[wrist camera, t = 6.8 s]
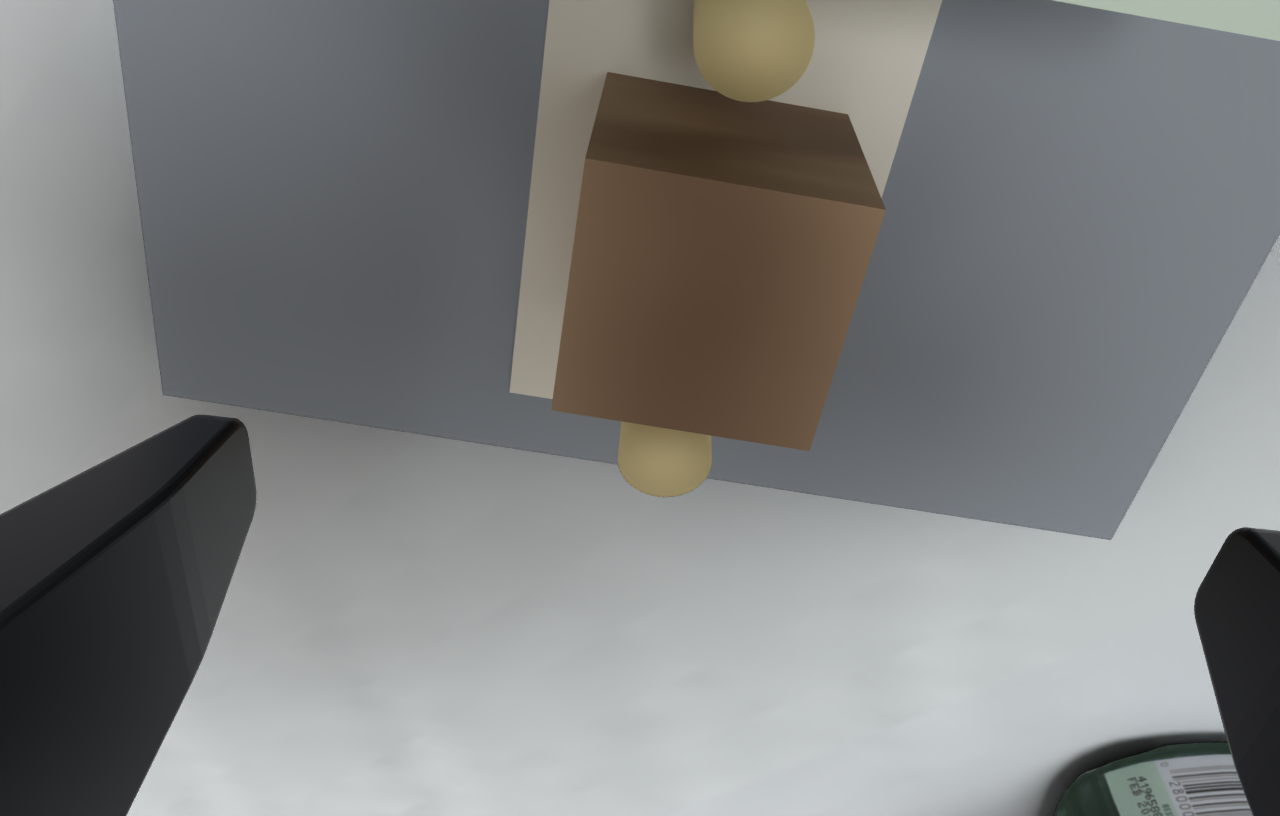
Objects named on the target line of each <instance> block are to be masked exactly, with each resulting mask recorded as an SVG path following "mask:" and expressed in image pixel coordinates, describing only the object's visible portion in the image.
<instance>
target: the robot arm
mask: <svg viewBox="0 0 1280 816" xmlns="http://www.w3.org/2000/svg"><path fill="white" fill-rule="evenodd" d="M255 506H256V486H255V479H254V472H253V465H252V458H251V451H250V444H249V437H248V432H247V429H246V427H245V425H244V424H243V423H242V422H241V421H240V420H238V419H236V418H227V417H218V416H209V415H195V416H192V417H190V418H188V419H186V420H184V421H182V422H180V423H178V424H176V425H174V426H172V427H170V428H168V429H166V430H164V431H162V432H160V433H158V434H156V435H154V436H152V437H150V438H149V439H147V440H145V441H143V442H141V443H139V444H137V445H135V446H133V447H131V448H129V449H127V450H125V451H123V452H121V453H119V454H117V455H115V456H113V457H112V458H110V459H108V460H106V461H104V462H102V463H100V464H98V465H96V466H94V467H92V468H90V469H88V470H86V471H84V472H82V473H80V474H78V475H76V476H75V477H73V478H71V479H69V480H67V481H65V482H63V483H61V484H59V485H57V486H55V487H53V488H51V489H49V490H47V491H45V492H43V493H41V494H39V495H38V496H36V497H34V498H32V499H30V500H28V501H26V502H24V503H22V504H20V505H18V506H16V507H14V508H12V509H10V510H8V511H6V512H4V513H2V514H0V816H126V815H127V813H128V811H129V809H130V807H131V805H132V803H133V801H134V799H135V797H136V795H137V793H138V791H139V789H140V787H141V785H142V783H143V781H144V779H145V777H146V775H147V773H148V771H149V769H150V767H151V765H152V762H153V760H154V758H155V756H156V754H157V752H158V750H159V748H160V746H161V744H162V742H163V740H164V738H165V736H166V734H167V732H168V730H169V728H170V726H171V724H172V722H173V720H174V718H175V716H176V714H177V712H178V710H179V708H180V706H181V704H182V702H183V700H184V697H185V695H186V693H187V691H188V689H189V687H190V685H191V683H192V681H193V679H194V677H195V675H196V672H197V670H198V668H199V666H200V664H201V661H202V659H203V657H204V654H205V651H206V649H207V646H208V644H209V641H210V638H211V636H212V633H213V630H214V627H215V624H216V621H217V619H218V616H219V613H220V610H221V607H222V604H223V601H224V599H225V596H226V593H227V590H228V587H229V584H230V582H231V579H232V576H233V573H234V570H235V567H236V564H237V562H238V559H239V556H240V553H241V550H242V547H243V544H244V542H245V539H246V536H247V533H248V530H249V527H250V524H251V522H252V519H253V515H254V511H255ZM1194 612H1195V620H1196V624H1197V628H1198V631H1199V635H1200V639H1201V643H1202V647H1203V651H1204V654H1205V658H1206V662H1207V666H1208V670H1209V673H1210V677H1211V681H1212V685H1213V689H1214V692H1215V696H1216V700H1217V704H1218V708H1219V712H1220V715H1221V719H1222V723H1223V727H1224V731H1225V734H1226V738H1227V742H1228V745H1229V749H1230V752H1231V755H1232V759H1233V762H1234V765H1235V769H1236V771H1237V774H1238V777H1239V780H1240V783H1241V786H1242V788H1243V791H1244V794H1245V797H1246V799H1247V802H1248V805H1249V807H1250V810H1251V812H1252V815H1253V816H1280V531H1275V530H1266V529H1256V528H1247V527H1245V528H1240V529H1237V530H1235V531H1233V532H1232V533H1231V534H1230V535H1229V536H1228V537H1227V539H1226V540H1225V542H1224V544H1223V546H1222V547H1221V549H1220V551H1219V553H1218V555H1217V556H1216V558H1215V560H1214V562H1213V564H1212V565H1211V567H1210V569H1209V571H1208V573H1207V574H1206V576H1205V578H1204V580H1203V582H1202V583H1201V585H1200V587H1199V589H1198V591H1197V594H1196V598H1195V605H1194Z"/></svg>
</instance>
